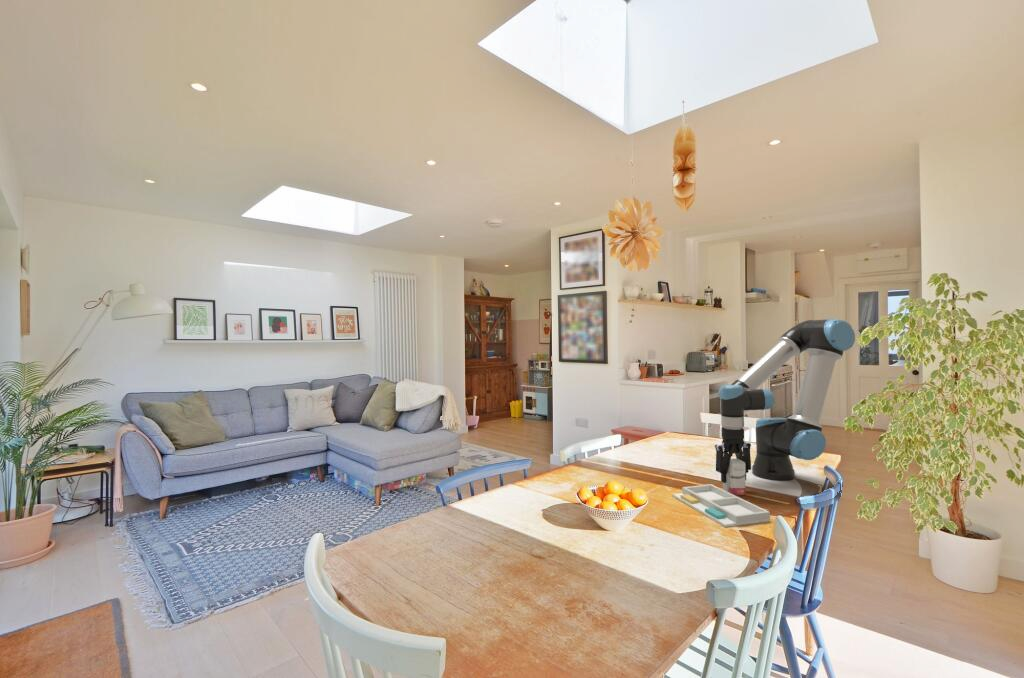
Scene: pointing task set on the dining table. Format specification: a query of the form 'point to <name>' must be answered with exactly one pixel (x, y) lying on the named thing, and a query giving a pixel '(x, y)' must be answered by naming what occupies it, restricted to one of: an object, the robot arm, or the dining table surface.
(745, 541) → the dining table surface
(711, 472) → the dining table surface
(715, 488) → the dock board
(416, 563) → the dining table surface
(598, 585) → the dining table surface
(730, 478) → the ink box
